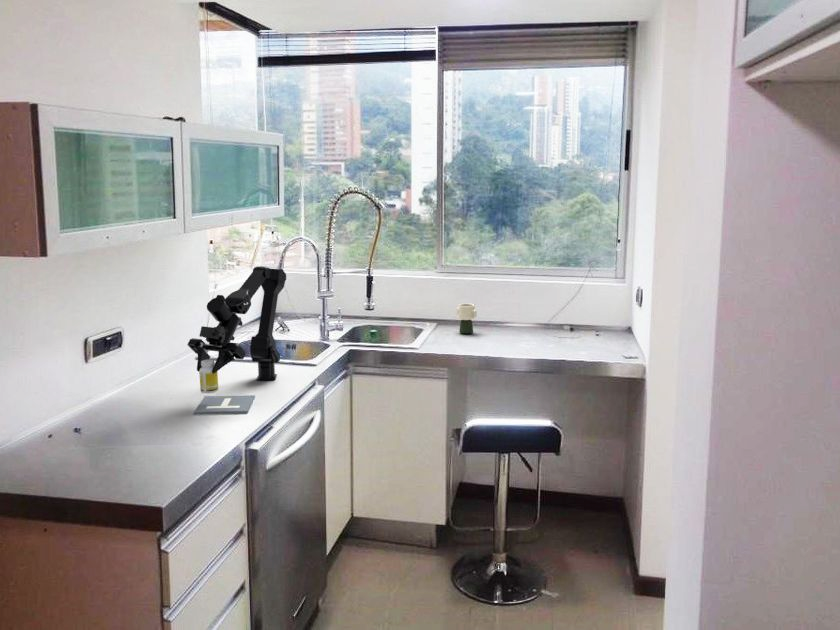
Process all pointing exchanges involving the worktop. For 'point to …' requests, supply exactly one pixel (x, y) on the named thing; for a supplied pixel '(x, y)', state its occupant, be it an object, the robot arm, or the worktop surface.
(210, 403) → the letter board
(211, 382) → the supplement bottle
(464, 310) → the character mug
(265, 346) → the robot arm
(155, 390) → the worktop surface
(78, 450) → the worktop surface
